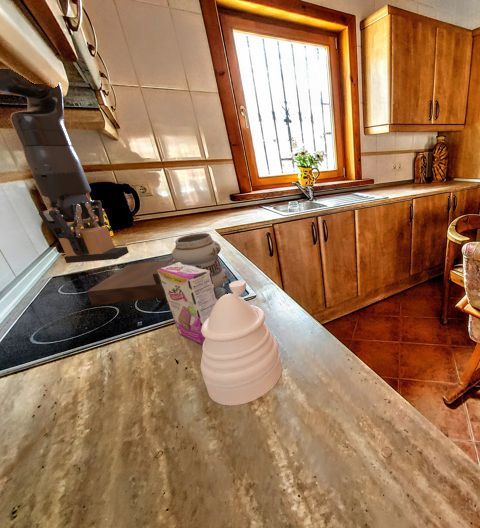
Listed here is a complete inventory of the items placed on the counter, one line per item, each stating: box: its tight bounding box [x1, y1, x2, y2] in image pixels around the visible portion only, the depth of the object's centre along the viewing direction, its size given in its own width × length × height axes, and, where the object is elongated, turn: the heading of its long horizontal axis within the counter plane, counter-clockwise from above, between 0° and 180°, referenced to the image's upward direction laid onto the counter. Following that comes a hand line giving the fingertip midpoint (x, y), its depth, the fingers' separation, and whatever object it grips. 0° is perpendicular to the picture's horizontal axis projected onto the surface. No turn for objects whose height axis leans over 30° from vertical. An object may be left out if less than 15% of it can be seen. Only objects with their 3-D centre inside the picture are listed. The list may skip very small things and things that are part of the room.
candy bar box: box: [157, 262, 218, 346], centre depth 59 cm, size 11×5×16 cm, turn 61°
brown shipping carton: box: [58, 226, 130, 264], centre depth 62 cm, size 10×5×6 cm, turn 99°
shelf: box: [86, 257, 178, 306], centre depth 83 cm, size 18×20×9 cm
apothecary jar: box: [171, 232, 229, 300], centre depth 77 cm, size 12×12×18 cm
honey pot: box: [199, 279, 283, 406], centre depth 47 cm, size 13×13×18 cm
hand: (90, 250), depth 62 cm, fingers closed on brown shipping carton, 4 cm apart
